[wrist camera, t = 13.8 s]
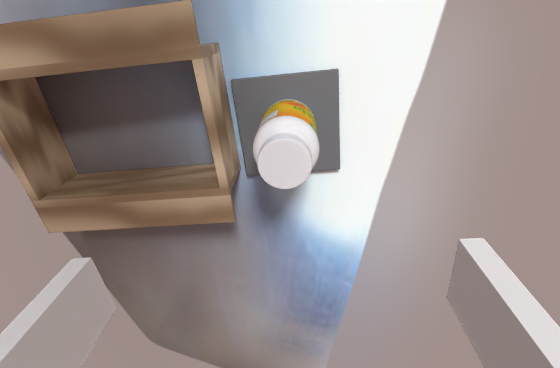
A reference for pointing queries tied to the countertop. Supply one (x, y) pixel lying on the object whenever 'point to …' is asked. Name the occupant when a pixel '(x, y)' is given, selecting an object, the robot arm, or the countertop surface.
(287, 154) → the supplement bottle
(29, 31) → the wooden frame
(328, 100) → the mat
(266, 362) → the countertop surface
